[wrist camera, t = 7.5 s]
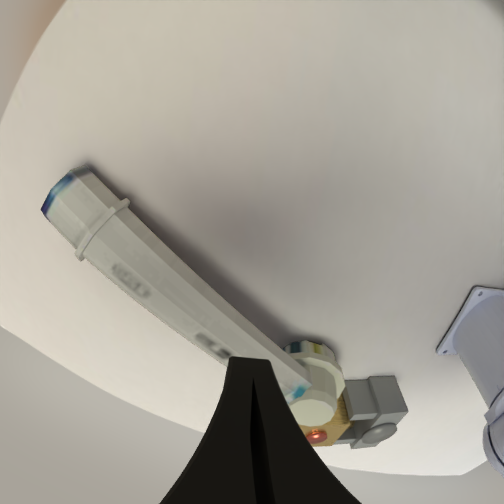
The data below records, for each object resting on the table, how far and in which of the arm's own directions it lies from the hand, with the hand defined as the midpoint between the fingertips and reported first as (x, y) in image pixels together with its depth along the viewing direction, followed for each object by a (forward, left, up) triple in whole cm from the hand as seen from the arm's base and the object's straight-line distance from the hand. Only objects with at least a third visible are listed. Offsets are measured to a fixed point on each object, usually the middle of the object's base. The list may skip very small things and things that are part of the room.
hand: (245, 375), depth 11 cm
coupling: (-14, +16, -10) cm, 24 cm away
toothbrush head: (+1, +5, -11) cm, 12 cm away
